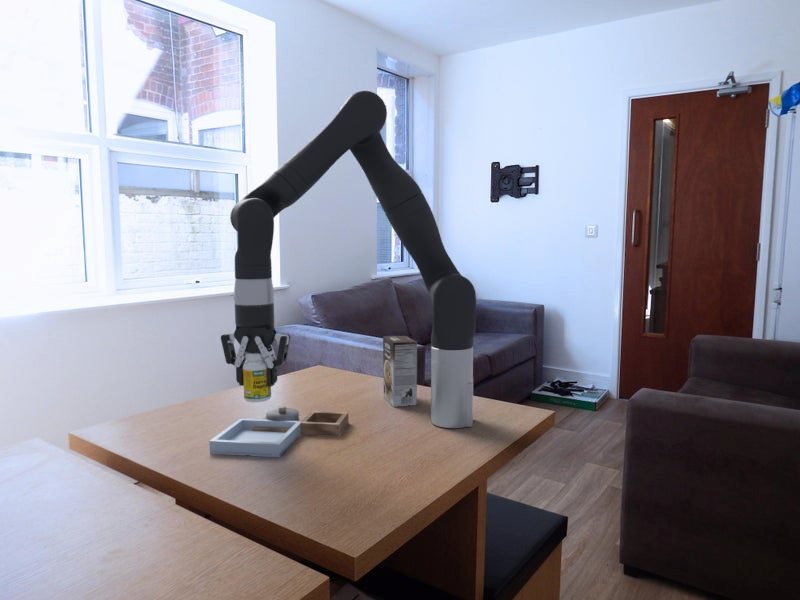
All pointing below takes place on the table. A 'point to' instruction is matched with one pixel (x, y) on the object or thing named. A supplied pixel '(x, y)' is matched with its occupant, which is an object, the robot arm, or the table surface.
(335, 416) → the block
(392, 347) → the coffee box
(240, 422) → the tray
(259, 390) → the supplement bottle
